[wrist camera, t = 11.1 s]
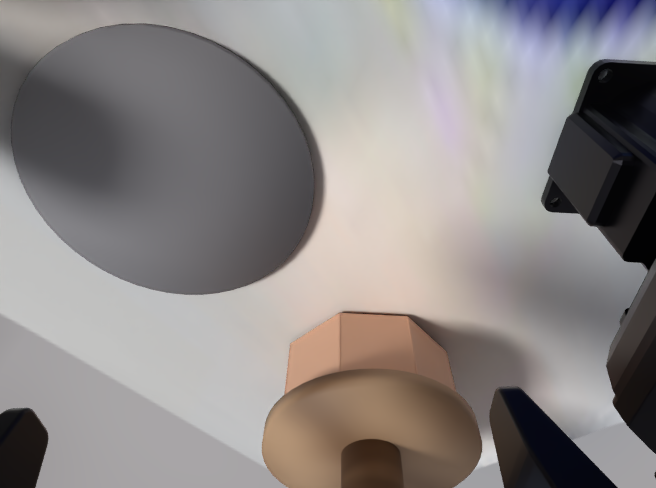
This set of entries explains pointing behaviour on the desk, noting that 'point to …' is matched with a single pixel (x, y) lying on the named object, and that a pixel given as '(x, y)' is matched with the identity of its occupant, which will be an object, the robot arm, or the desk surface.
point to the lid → (371, 433)
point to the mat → (163, 159)
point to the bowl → (366, 349)
